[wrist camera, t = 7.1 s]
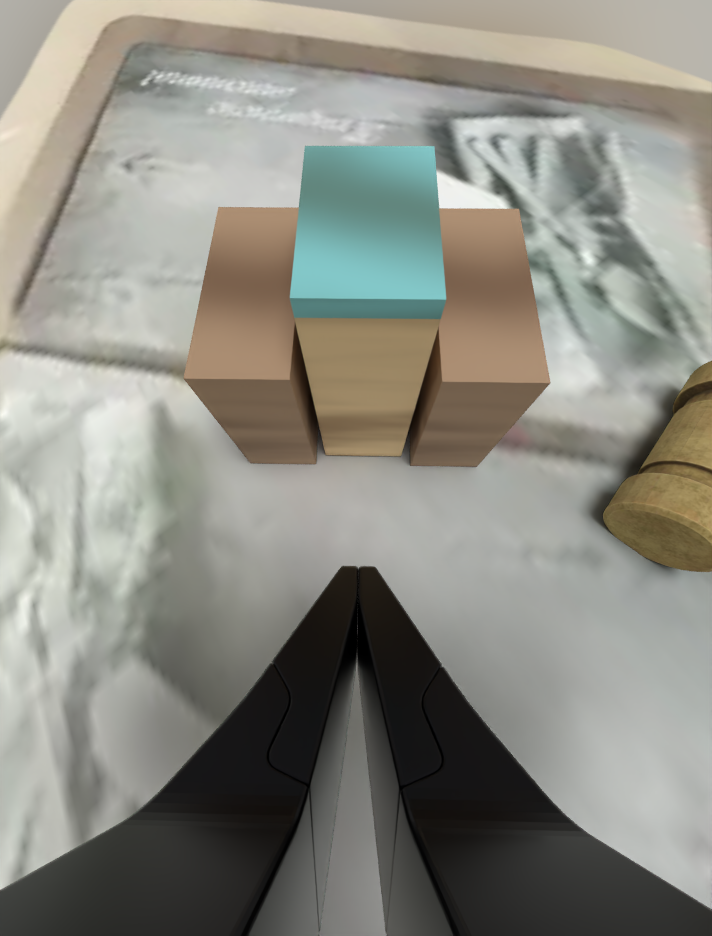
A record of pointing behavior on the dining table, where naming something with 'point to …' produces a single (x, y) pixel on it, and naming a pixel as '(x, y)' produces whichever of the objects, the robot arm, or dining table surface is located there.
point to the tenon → (367, 289)
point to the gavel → (673, 487)
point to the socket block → (449, 367)
